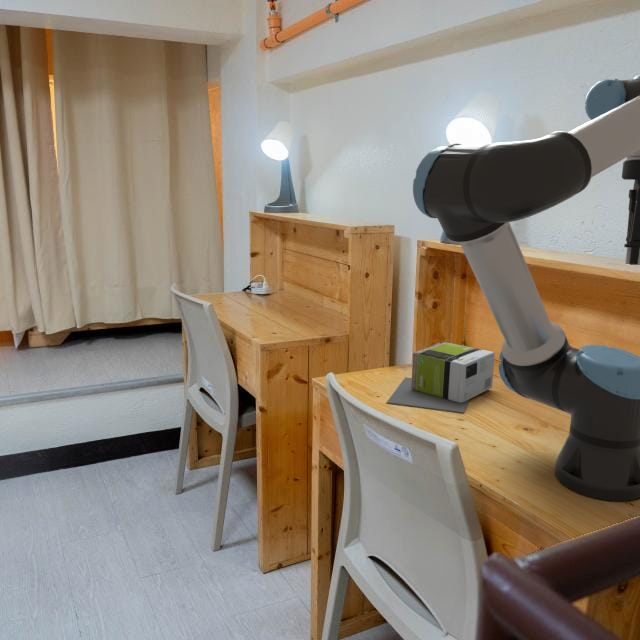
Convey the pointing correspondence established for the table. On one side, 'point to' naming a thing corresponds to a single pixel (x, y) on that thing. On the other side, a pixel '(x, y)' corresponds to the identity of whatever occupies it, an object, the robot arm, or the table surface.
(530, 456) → the table surface
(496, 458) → the table surface
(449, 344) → the tea box
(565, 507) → the table surface
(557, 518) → the table surface
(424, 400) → the desk pad
